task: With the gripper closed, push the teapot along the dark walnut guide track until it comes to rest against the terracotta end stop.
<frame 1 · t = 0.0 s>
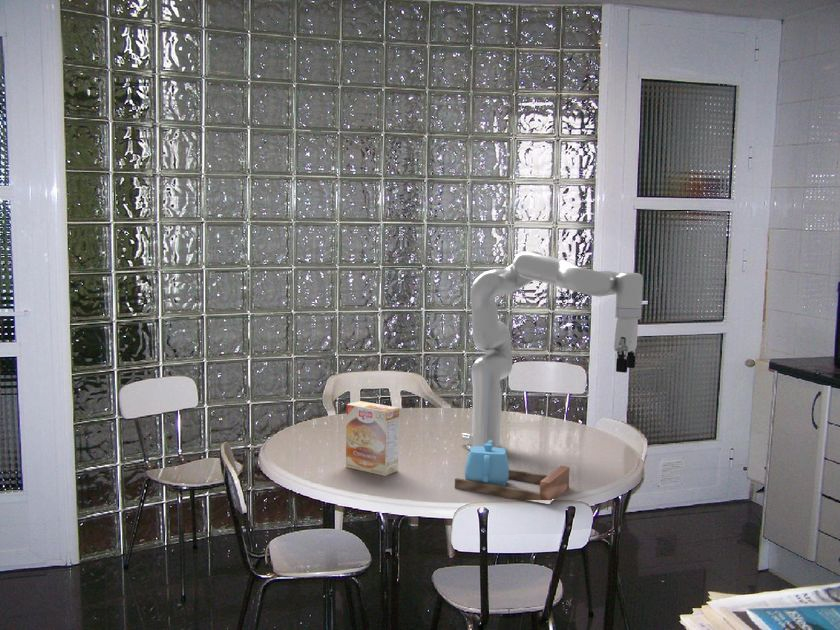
hand: (625, 369, 240), 31 cm above the table, tool pointing down, fingers open, 9 cm apart
coffeecake box: (371, 469, 238), on the table
teapot: (486, 483, 227), on the table, touching guide track
guide track: (512, 487, 223), on the table
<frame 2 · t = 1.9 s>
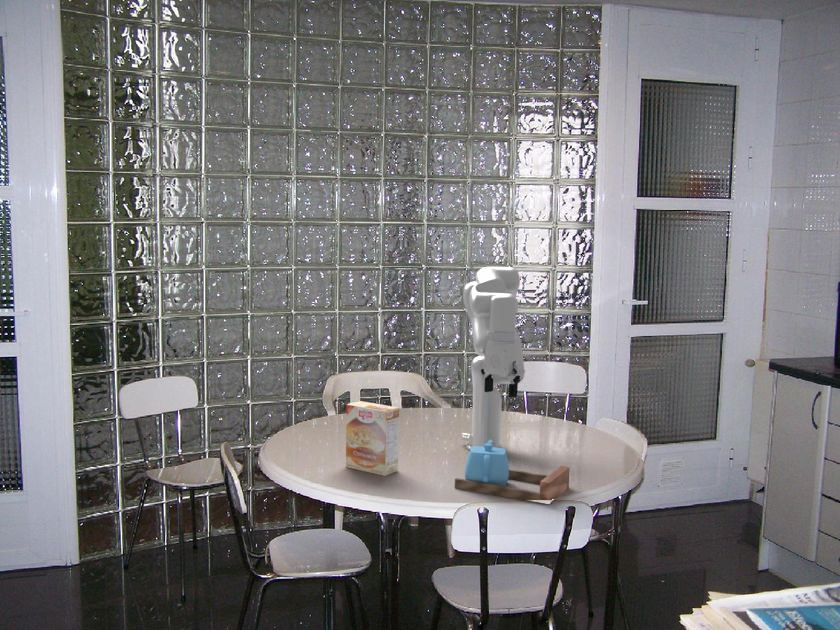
hand: (500, 394, 235), 24 cm above the table, tool pointing down, fingers open, 9 cm apart
nothing on the table moved.
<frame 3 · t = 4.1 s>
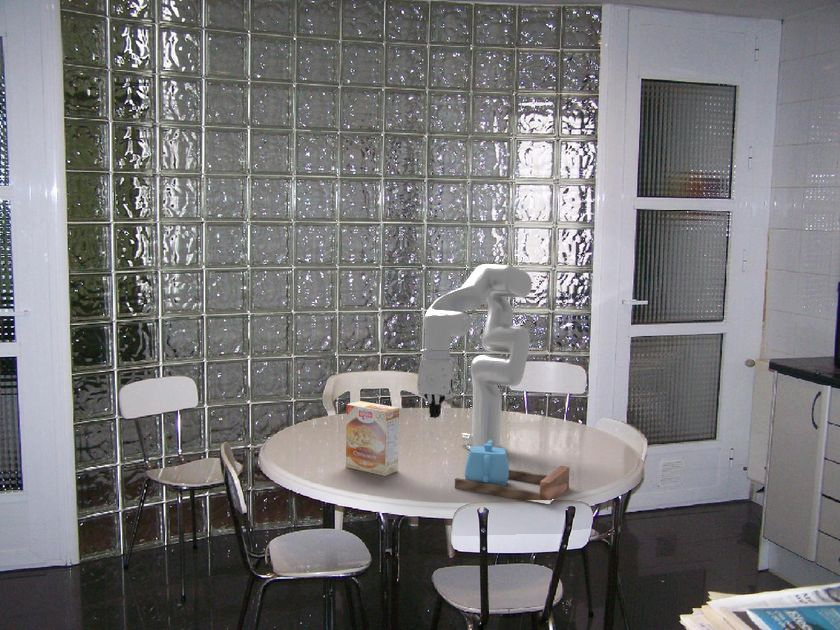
hand: (434, 416, 233), 17 cm above the table, tool pointing down, fingers closed
nothing on the table moved.
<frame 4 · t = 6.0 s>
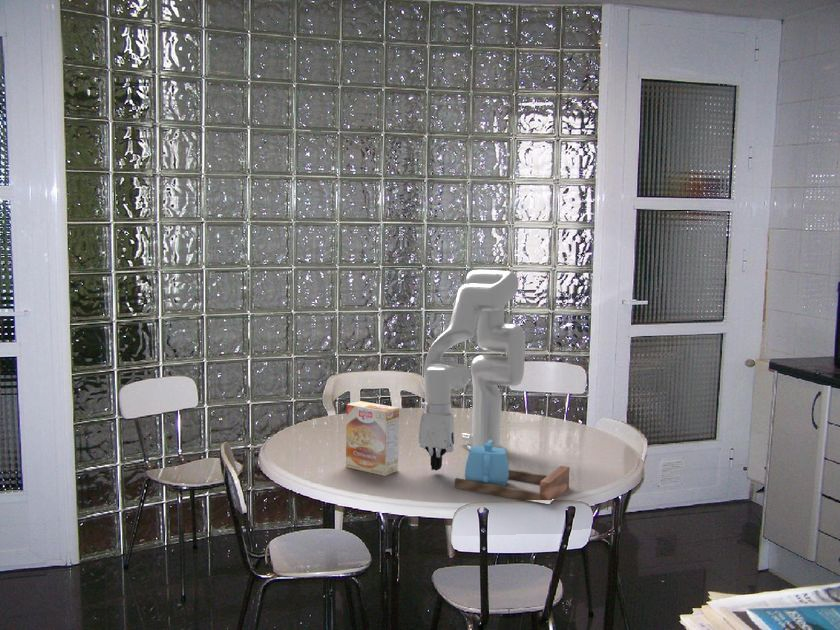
hand: (436, 469, 234), 1 cm above the table, tool pointing down, fingers closed
nothing on the table moved.
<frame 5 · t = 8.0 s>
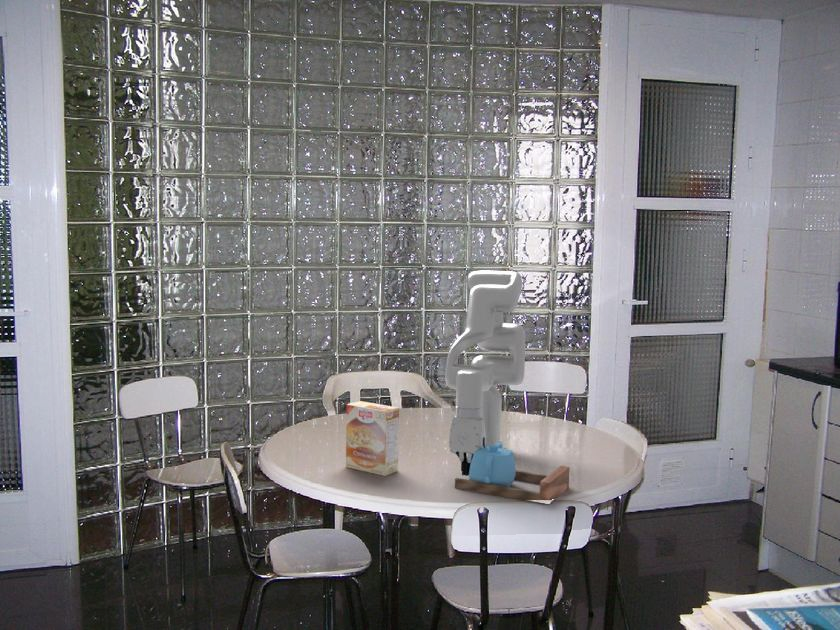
hand: (466, 474, 230), 1 cm above the table, tool pointing down, fingers closed
teapot: (492, 484, 225), on the table, touching guide track
everything else where it was.
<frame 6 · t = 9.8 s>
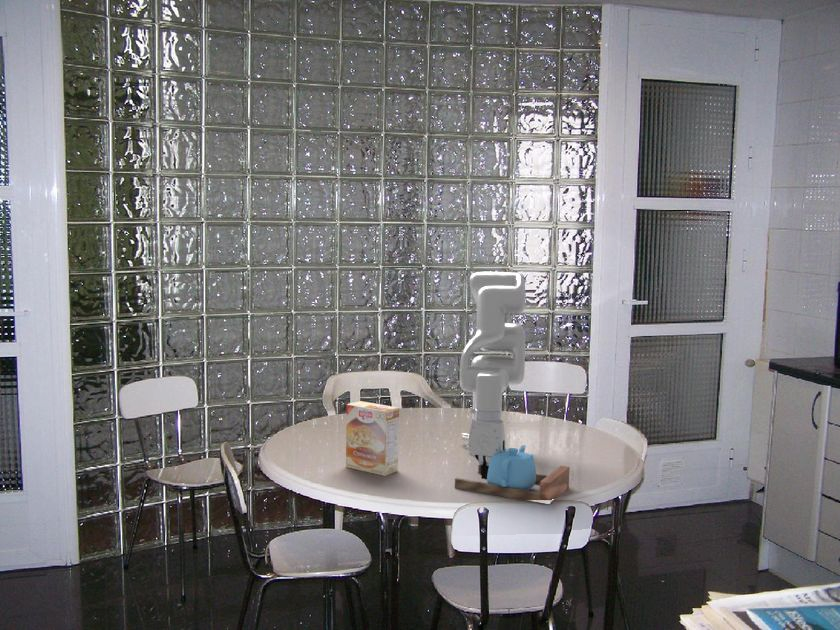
hand: (486, 477, 227), 1 cm above the table, tool pointing down, fingers closed
teapot: (512, 488, 222), on the table, touching gripper, guide track
everything else where it was.
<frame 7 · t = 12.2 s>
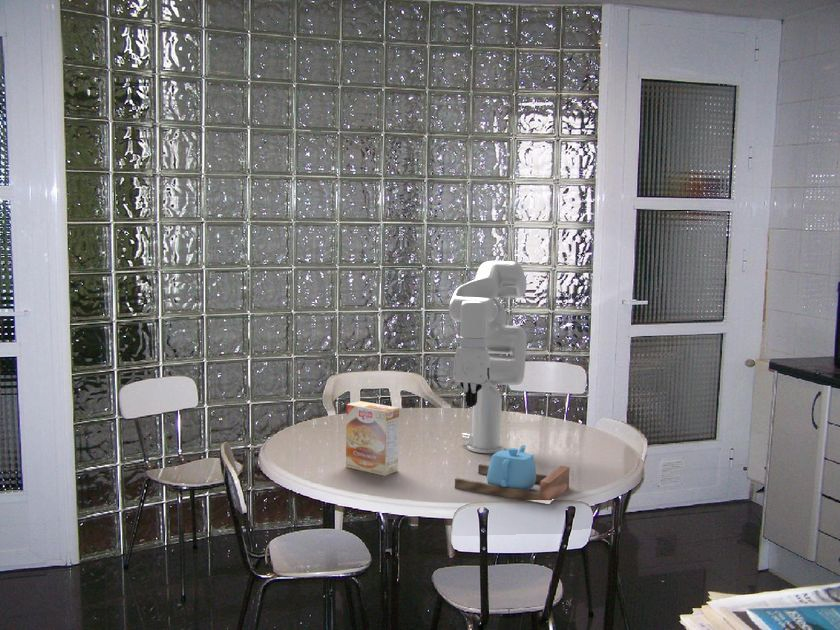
hand: (471, 405, 230), 21 cm above the table, tool pointing down, fingers closed
teapot: (512, 488, 222), on the table, touching guide track
everything else where it was.
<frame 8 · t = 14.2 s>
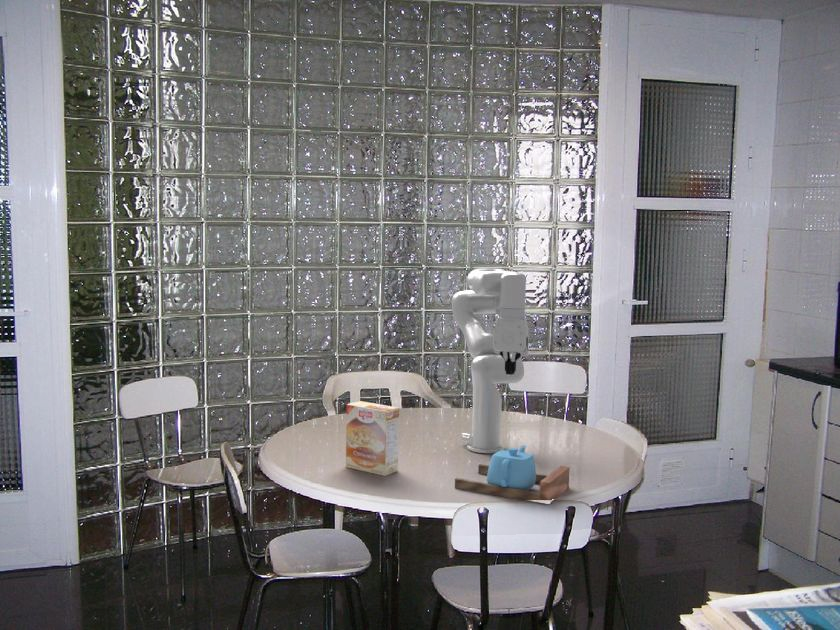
hand: (510, 373, 240), 29 cm above the table, tool pointing down, fingers closed
nothing on the table moved.
at the end: teapot 1.7 cm from the target spot, on the table; teapot tilted 3° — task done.
